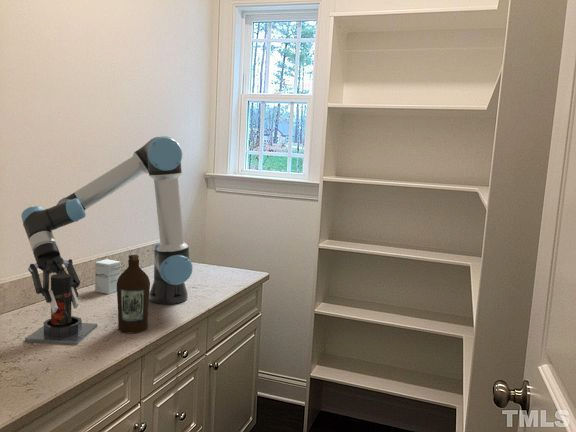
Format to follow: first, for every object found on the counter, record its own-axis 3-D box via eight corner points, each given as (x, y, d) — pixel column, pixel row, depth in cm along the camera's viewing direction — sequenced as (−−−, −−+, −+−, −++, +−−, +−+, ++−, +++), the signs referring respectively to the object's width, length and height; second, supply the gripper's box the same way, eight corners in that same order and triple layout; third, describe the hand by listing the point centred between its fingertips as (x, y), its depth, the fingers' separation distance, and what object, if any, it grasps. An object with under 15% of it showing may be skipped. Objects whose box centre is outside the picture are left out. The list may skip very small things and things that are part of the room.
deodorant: (75, 320, 164) (75, 275, 162) (61, 326, 159) (61, 279, 157) (60, 317, 166) (60, 272, 164) (46, 323, 161) (46, 276, 159)
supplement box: (94, 291, 210) (94, 262, 208) (106, 287, 216) (107, 258, 215) (108, 294, 207) (108, 264, 205) (120, 290, 214) (121, 260, 212)
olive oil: (118, 323, 175) (118, 252, 171) (150, 322, 177) (151, 252, 174) (114, 334, 164) (115, 259, 161) (148, 333, 167) (149, 259, 164)
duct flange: (97, 326, 171) (97, 315, 170) (76, 344, 155) (76, 332, 154) (50, 323, 171) (50, 312, 171) (24, 341, 155) (24, 329, 155)
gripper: (69, 251, 177) (91, 308, 168) (11, 257, 163) (31, 320, 155) (76, 238, 173) (99, 296, 164) (17, 244, 159) (38, 308, 150)
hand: (66, 308), depth 159 cm, fingers closed on deodorant, 6 cm apart
